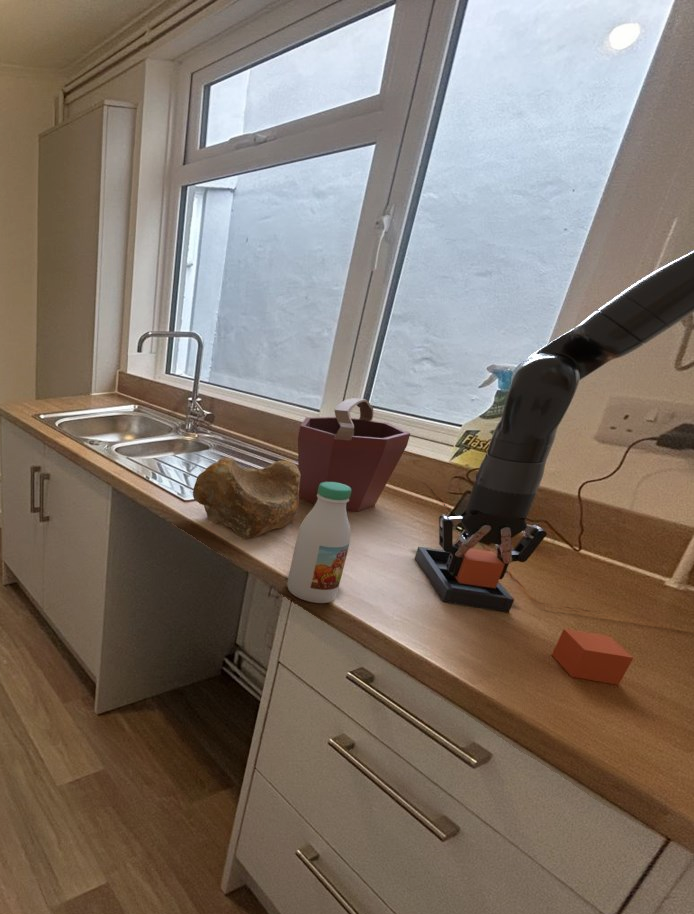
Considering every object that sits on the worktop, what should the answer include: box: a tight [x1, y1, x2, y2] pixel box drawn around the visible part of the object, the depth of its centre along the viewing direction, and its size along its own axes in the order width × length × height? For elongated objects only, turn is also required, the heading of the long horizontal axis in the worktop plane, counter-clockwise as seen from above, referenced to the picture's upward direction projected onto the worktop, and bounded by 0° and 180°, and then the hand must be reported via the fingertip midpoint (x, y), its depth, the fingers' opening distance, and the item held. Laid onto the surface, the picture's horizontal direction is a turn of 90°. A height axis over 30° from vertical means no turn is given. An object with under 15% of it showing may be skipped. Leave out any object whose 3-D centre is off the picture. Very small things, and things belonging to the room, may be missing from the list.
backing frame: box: [414, 546, 515, 613], centre depth 94 cm, size 9×17×2 cm, turn 159°
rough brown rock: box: [192, 457, 301, 540], centre depth 114 cm, size 23×17×15 cm
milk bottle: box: [286, 482, 352, 604], centre depth 88 cm, size 8×8×20 cm
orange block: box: [551, 628, 634, 686], centre depth 72 cm, size 5×5×4 cm
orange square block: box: [454, 548, 505, 588], centre depth 89 cm, size 5×5×4 cm
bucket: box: [297, 397, 411, 513], centre depth 129 cm, size 24×22×25 cm
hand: (472, 576), depth 90 cm, fingers closed on orange square block, 5 cm apart
